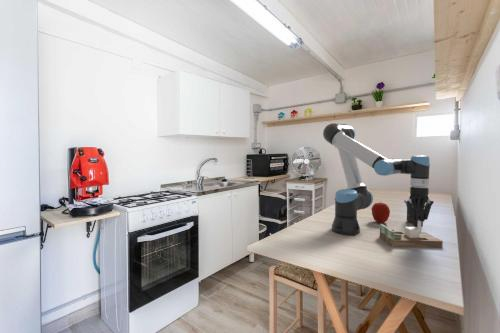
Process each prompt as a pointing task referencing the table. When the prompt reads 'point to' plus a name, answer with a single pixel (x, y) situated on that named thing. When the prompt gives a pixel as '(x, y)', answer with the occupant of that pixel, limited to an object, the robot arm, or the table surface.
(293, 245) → the table surface
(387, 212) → the apple
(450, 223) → the table surface
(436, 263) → the table surface
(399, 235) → the board
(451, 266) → the table surface
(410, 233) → the ivory block
